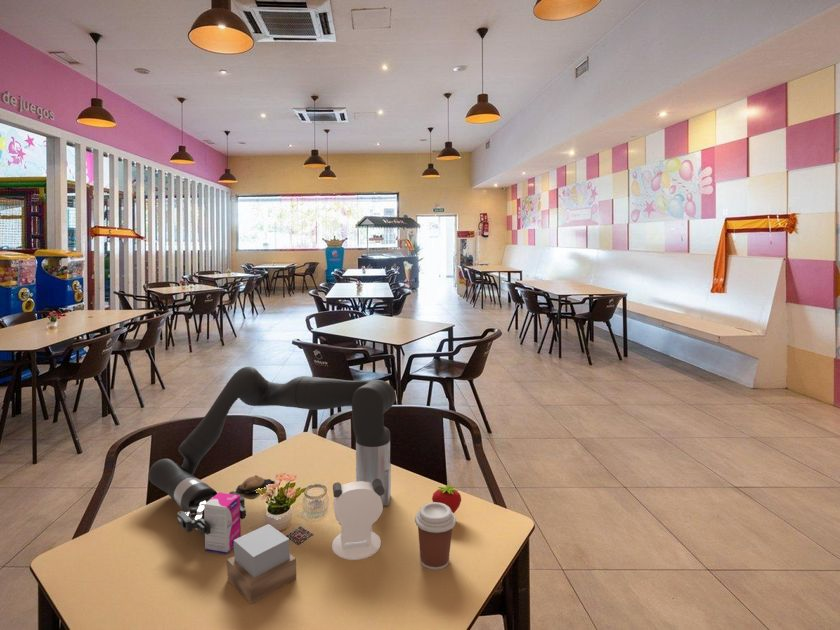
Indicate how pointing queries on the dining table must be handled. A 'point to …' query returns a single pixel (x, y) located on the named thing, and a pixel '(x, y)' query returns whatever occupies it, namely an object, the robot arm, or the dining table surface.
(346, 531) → the panda figurine
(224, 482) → the dining table surface
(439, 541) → the coffee cup
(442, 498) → the strawberry
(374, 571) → the dining table surface
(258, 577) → the walnut base block
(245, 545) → the grey top block
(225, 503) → the supplement box
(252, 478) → the brown flat rounded lump
